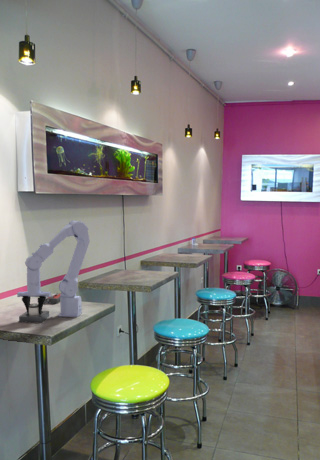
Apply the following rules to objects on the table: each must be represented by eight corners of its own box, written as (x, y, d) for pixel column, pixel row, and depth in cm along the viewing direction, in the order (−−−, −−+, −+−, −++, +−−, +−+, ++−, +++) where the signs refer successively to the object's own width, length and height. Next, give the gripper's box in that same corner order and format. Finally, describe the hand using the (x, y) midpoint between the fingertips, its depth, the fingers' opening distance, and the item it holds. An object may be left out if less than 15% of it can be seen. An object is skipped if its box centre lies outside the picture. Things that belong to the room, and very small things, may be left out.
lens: (41, 317, 190) (41, 304, 189) (32, 320, 186) (32, 306, 186) (35, 315, 193) (35, 302, 192) (26, 318, 189) (26, 304, 189)
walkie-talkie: (49, 298, 230) (35, 308, 210) (48, 290, 229) (35, 299, 209) (65, 298, 229) (53, 308, 209) (64, 290, 229) (52, 299, 209)
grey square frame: (49, 316, 195) (49, 310, 194) (41, 322, 185) (41, 317, 184) (28, 315, 195) (28, 310, 195) (19, 322, 185) (19, 316, 185)
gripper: (52, 281, 192) (53, 310, 194) (20, 280, 193) (21, 310, 194) (47, 284, 185) (48, 314, 187) (15, 284, 186) (16, 314, 187)
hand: (34, 312), depth 190 cm, fingers closed on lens, 5 cm apart
